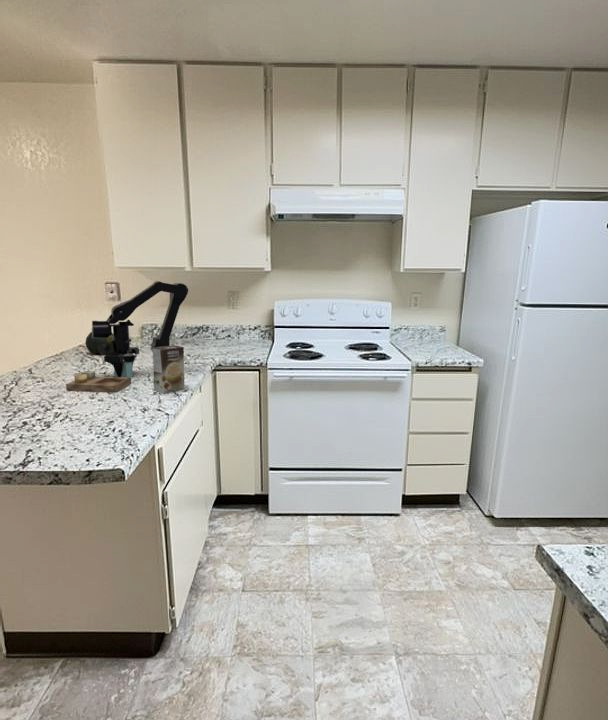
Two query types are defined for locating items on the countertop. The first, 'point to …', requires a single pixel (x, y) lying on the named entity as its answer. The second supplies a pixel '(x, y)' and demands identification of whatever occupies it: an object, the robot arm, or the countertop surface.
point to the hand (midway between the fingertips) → (123, 375)
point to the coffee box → (168, 368)
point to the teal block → (126, 370)
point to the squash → (97, 342)
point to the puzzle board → (97, 383)
